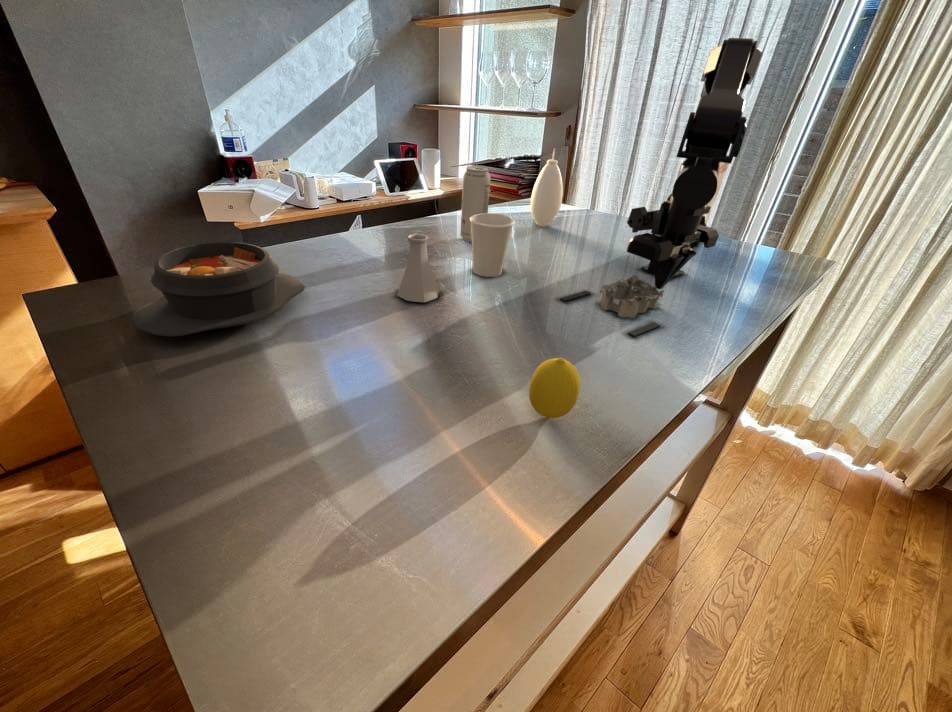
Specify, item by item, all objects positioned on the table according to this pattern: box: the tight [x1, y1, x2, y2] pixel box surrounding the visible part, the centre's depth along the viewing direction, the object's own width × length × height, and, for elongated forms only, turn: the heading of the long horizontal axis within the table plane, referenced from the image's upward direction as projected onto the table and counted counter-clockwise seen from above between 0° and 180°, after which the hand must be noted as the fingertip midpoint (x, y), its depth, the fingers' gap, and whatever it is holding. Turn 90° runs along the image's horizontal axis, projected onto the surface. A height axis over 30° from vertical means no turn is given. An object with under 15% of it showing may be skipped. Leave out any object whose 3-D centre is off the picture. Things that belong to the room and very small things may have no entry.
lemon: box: [528, 357, 581, 419], centre depth 49 cm, size 6×6×8 cm
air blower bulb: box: [530, 147, 564, 228], centre depth 111 cm, size 8×8×18 cm
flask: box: [396, 233, 440, 304], centre depth 74 cm, size 7×7×10 cm
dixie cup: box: [470, 212, 515, 278], centre depth 85 cm, size 8×8×10 cm
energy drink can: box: [459, 165, 492, 243], centre depth 100 cm, size 6×6×15 cm
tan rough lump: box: [599, 274, 665, 319], centre depth 77 cm, size 11×8×4 cm
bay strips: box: [559, 290, 661, 338], centre depth 76 cm, size 7×16×1 cm, turn 36°
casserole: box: [131, 241, 306, 338], centre depth 66 cm, size 25×19×8 cm
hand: (658, 288), depth 82 cm, fingers closed
